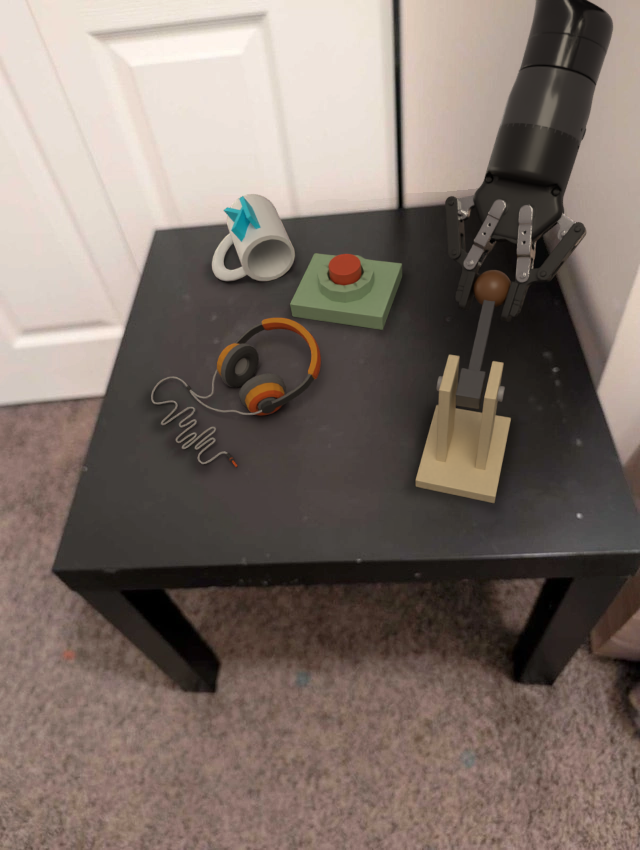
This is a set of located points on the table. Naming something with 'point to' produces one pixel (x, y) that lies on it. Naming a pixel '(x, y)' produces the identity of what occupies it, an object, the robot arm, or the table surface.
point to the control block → (347, 293)
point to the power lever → (481, 336)
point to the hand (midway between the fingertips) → (484, 314)
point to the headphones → (250, 380)
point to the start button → (345, 269)
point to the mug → (254, 241)
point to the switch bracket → (465, 440)
